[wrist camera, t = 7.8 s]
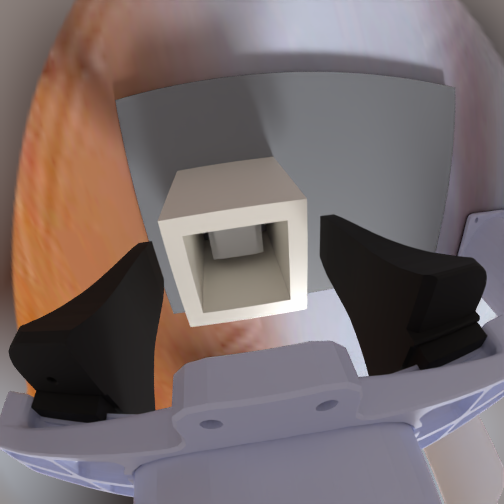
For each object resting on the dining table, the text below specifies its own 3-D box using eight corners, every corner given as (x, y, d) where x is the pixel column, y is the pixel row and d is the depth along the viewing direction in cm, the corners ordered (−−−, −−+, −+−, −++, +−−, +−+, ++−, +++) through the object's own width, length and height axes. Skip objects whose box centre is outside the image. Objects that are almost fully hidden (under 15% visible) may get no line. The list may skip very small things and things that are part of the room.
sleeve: (273, 156, 15) (306, 199, 10) (279, 239, 17) (306, 308, 12) (177, 170, 14) (157, 221, 9) (195, 252, 17) (190, 326, 12)
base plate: (445, 85, 14) (493, 95, 10) (424, 260, 21) (454, 293, 17) (121, 99, 13) (88, 105, 9) (175, 304, 20) (169, 352, 16)
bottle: (437, 372, 34) (508, 530, 8) (391, 395, 34) (455, 565, 9) (448, 341, 29) (538, 525, 4) (396, 367, 30) (477, 571, 5)
